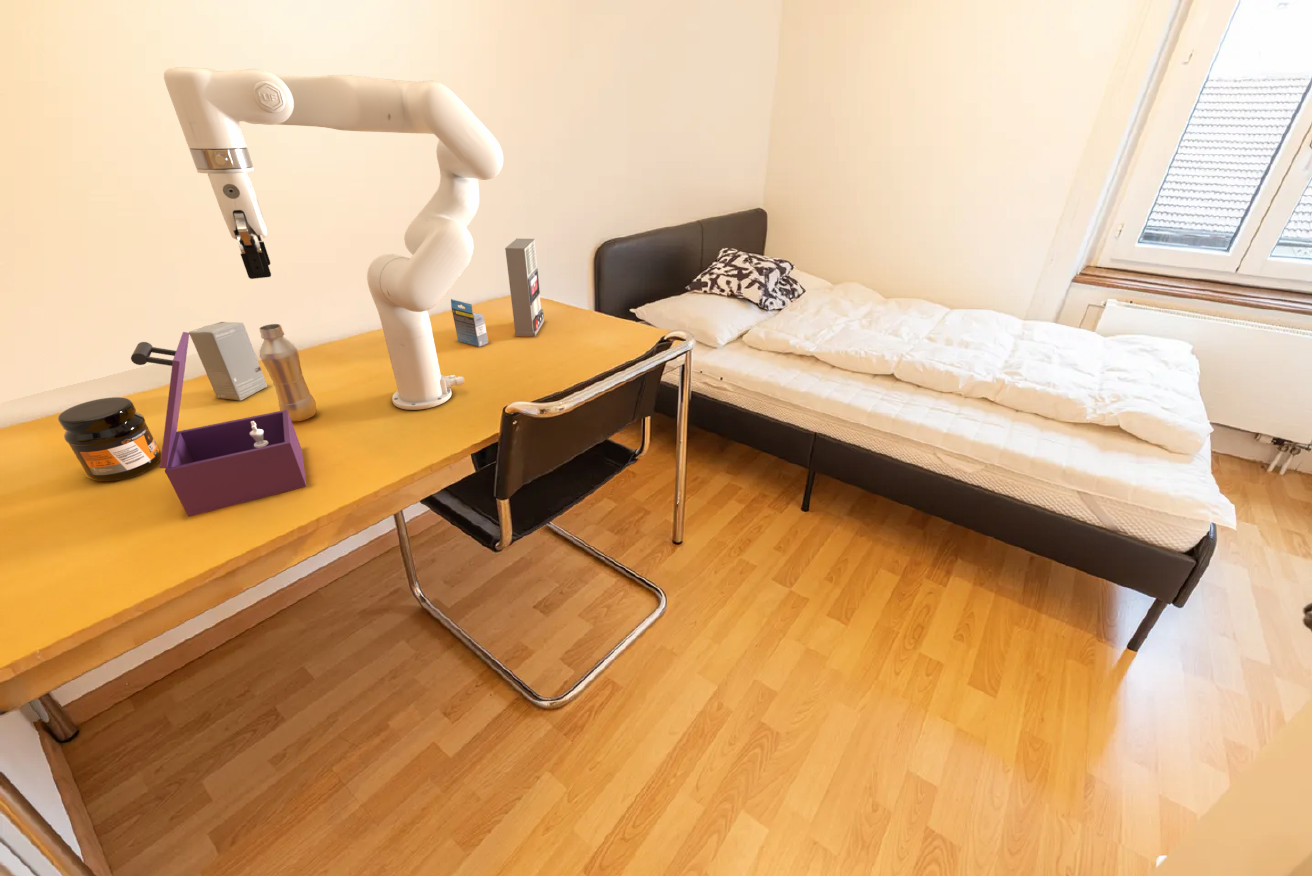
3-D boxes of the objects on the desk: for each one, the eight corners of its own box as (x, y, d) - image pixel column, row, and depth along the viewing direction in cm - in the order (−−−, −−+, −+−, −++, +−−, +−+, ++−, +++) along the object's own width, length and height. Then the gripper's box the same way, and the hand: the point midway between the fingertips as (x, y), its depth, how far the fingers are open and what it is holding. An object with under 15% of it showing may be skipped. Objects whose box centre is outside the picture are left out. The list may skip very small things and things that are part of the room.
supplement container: (148, 479, 98) (116, 418, 92) (75, 488, 96) (37, 427, 90) (174, 449, 107) (146, 392, 101) (108, 457, 104) (75, 399, 98)
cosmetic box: (240, 401, 125) (213, 333, 117) (213, 398, 126) (184, 331, 118) (270, 386, 132) (246, 321, 124) (244, 383, 133) (219, 319, 125)
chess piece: (254, 481, 97) (233, 431, 92) (256, 467, 100) (236, 418, 95) (287, 474, 99) (268, 424, 94) (288, 461, 102) (270, 412, 97)
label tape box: (489, 343, 158) (482, 300, 152) (478, 347, 155) (471, 304, 149) (467, 337, 162) (460, 295, 156) (456, 341, 159) (449, 298, 153)
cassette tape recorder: (536, 337, 163) (527, 248, 150) (515, 336, 163) (504, 248, 150) (545, 322, 175) (537, 238, 162) (525, 321, 175) (516, 238, 162)
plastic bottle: (326, 413, 120) (297, 323, 110) (300, 427, 115) (267, 334, 105) (303, 408, 122) (273, 319, 112) (276, 422, 117) (241, 330, 107)
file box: (302, 450, 107) (287, 409, 103) (306, 486, 97) (290, 442, 92) (195, 474, 100) (175, 431, 95) (188, 516, 89) (164, 470, 85)
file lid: (189, 332, 90) (142, 324, 87) (180, 361, 80) (126, 353, 77) (177, 429, 95) (132, 425, 92) (166, 468, 85) (116, 465, 81)
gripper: (250, 164, 83) (287, 279, 92) (252, 157, 96) (284, 259, 105) (188, 166, 80) (232, 285, 89) (198, 158, 93) (236, 263, 101)
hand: (260, 271), depth 97 cm, fingers open, 9 cm apart
